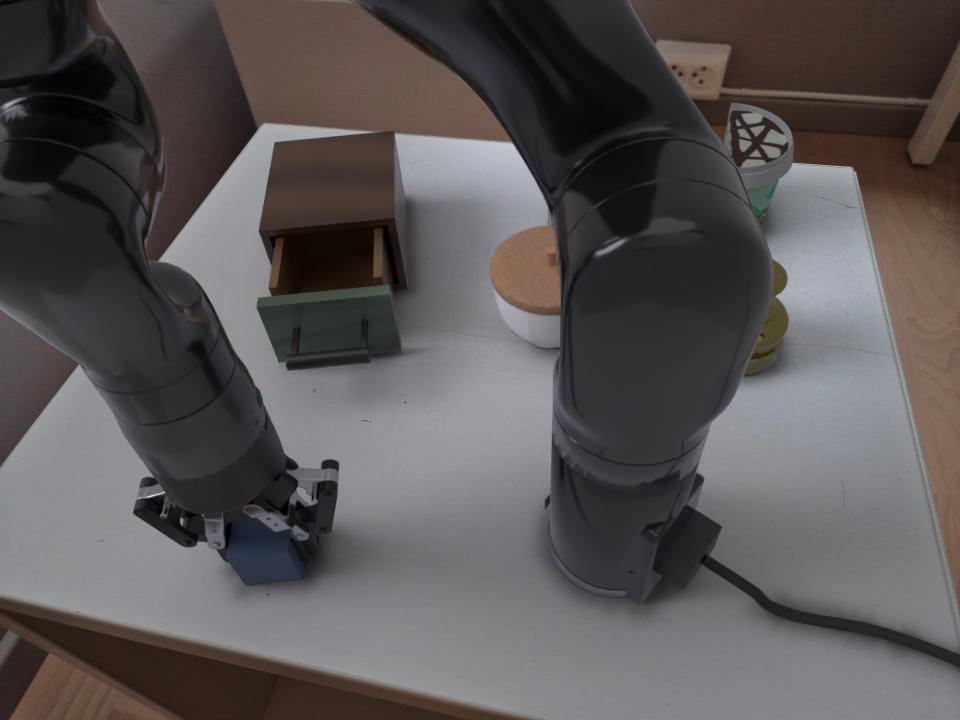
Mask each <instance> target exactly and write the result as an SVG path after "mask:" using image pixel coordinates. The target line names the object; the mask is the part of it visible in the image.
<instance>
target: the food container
mask: <svg viewBox="0 0 960 720" xmlns="http://www.w3.org/2000/svg"><path fill="white" fill-rule="evenodd" d="M722 143H723V144H724V146H725V147H726V149H727V150H728V152H729V153H730V155H731V156H732V158H733V160H734V162H735V163H736V165H737V168H738V170H739V172H740V175H741V177H742V180H743V183H744V185H745V188H746V190H747V193H748V195H749V198H750V201H751V203H752V206H753V208H754V211H755V213H756V216H757V218H758V221H759V224H760V226H761V227H762V225H763V222H764V220H765V217H766V214H767V212H768V210H769V207H770V204H771V202H772V200H773V196H774V194H775V191H776V189H777V186H778V184H779V182H780V180H781V178H783V177H784V176H786V175H787V174H788V173H789V171H790V170H791V168H792V166H793V163H794V153H795V151H794V149H795V148H794V146H795V143H794V139H793V134H792V131H791V129H790V127H789V126H788V124H787V123H786V122H785V121H783V120H782V119H781V118H780V117H779V116H777V115H776V114H774V113H772V112H770V111H768V110H766V109H764V108H760V107H758V106H754V105H750V104H745V103H740V102H739V103H737V102H731V104H730V107H729V112H728V115H727V123H726V129H725V134H724V139H723V142H722Z"/></svg>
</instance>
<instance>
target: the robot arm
mask: <svg viewBox="0 0 960 720" xmlns="http://www.w3.org/2000/svg"><path fill="white" fill-rule="evenodd" d="M349 1H350V3H352V4H353V5H355V7H357V8H358V9H360V10H361V11H362V12H363V13H364V14H366V15H367V16H368V17H369V18H371V19H372V20H373V21H375V22H376V23H378V24H379V25H381V26H382V27H383V28H385V30H388V31H389V32H391V33H392V34H393V35H394V36H397V37H398V38H399V39H401V40H402V41H403V42H405V43H407V44H408V45H409V46H412V47H413V48H414V49H416V50H418V51H419V52H420V53H422V54H423V55H425V56H426V57H428V58H430V59H431V60H433V61H434V62H436V63H438V64H439V65H440V66H441V67H443V68H444V69H446V70H447V71H449V72H450V73H451V74H453V75H454V76H456V77H457V78H458V79H459V80H460V81H461V82H463V84H465V86H467V88H469V90H471V91H472V92H473V94H475V95H476V96H477V98H478V99H479V100H480V101H481V102H482V104H483V105H485V106H486V108H487V109H488V111H489V112H490V113H491V114H492V115H493V117H494V118H495V120H496V121H497V122H498V124H499V126H500V127H501V129H502V130H503V131H504V133H505V134H506V136H507V137H508V139H509V140H510V141H511V143H512V145H513V147H514V149H516V151H517V153H518V154H519V156H520V157H521V159H522V161H523V162H524V164H525V166H526V168H527V170H528V171H529V173H530V174H531V176H532V178H533V179H534V181H535V183H536V185H537V187H538V189H539V191H540V193H541V196H542V197H543V199H544V201H545V204H546V206H547V210H548V209H549V213H550V217H551V221H552V225H553V231H554V242H555V251H556V260H557V269H558V276H559V286H560V346H559V348H558V349H559V350H558V354H557V356H556V358H555V361H554V366H553V372H552V415H551V416H552V420H551V449H550V450H551V452H550V453H551V456H550V491H549V494H548V495H547V497H546V498H545V499H544V510H546V509H547V508H548V506H549V520H548V526H547V528H548V529H547V531H548V532H547V541H548V546H549V547H548V548H549V551H550V554H551V556H552V559H553V561H554V562H555V564H556V566H557V567H558V569H559V570H560V571H561V573H562V574H563V575H564V576H565V577H566V578H567V579H568V580H569V581H571V583H573V584H574V585H576V586H577V587H579V588H581V589H582V590H584V591H587V592H589V593H590V594H594V595H597V596H601V597H606V598H607V597H608V598H628V599H629V600H632V601H633V602H634V603H636V604H637V605H641V604H643V603H644V602H645V600H647V598H648V597H649V595H650V594H651V592H652V591H653V590H654V588H655V587H656V585H657V584H658V582H660V581H661V580H662V578H664V579H665V580H667V581H669V583H671V584H673V585H674V586H676V587H677V588H678V589H680V590H682V591H685V590H686V589H687V587H688V586H689V585H690V584H691V581H693V579H694V578H695V576H696V575H697V573H698V571H699V570H700V569H701V568H702V567H704V568H706V569H707V570H709V571H710V572H712V573H714V574H715V575H717V576H718V577H720V578H722V579H723V580H725V581H726V582H727V583H729V584H731V585H732V586H734V587H735V588H737V589H738V590H739V591H741V592H743V593H744V594H746V595H747V596H749V597H750V598H752V599H753V600H754V601H755V602H756V603H757V604H758V606H759V607H760V608H762V609H763V610H765V611H766V612H768V613H770V614H773V615H775V616H776V617H777V616H778V617H780V618H783V619H787V620H790V621H794V622H797V623H801V624H804V625H810V626H816V627H822V628H827V629H834V630H841V631H847V632H851V633H856V634H857V633H858V634H862V635H867V636H870V637H875V638H878V639H882V640H884V641H889V642H891V643H895V644H897V645H900V646H904V647H907V648H909V649H912V650H915V651H918V652H921V653H922V654H926V655H929V656H930V657H934V658H936V659H939V660H941V661H944V662H945V663H948V664H950V665H953V666H955V667H956V668H960V653H957V652H955V651H952V650H949V649H947V648H945V647H943V646H939V645H937V644H934V643H932V642H929V641H926V640H924V639H921V638H918V637H916V636H913V635H909V634H906V633H903V632H902V631H901V632H900V631H897V630H894V629H891V628H887V627H884V626H880V625H877V624H873V623H868V622H864V621H859V620H853V619H848V618H842V617H836V616H829V615H823V614H817V613H811V612H807V611H802V610H798V609H794V608H791V607H788V606H785V605H782V604H780V603H777V602H775V601H774V600H772V599H771V598H769V597H768V596H767V594H766V593H764V592H763V590H761V589H760V588H759V587H758V586H756V585H755V584H753V583H752V582H751V581H749V580H747V579H746V578H744V577H743V576H742V575H740V574H738V573H737V572H735V571H734V570H732V569H730V568H729V567H727V566H726V565H725V564H723V563H722V562H719V561H718V560H716V559H715V558H714V557H712V556H710V554H711V553H712V552H713V550H714V549H715V548H716V544H717V542H718V539H719V537H720V534H721V531H722V529H723V526H722V525H721V524H719V523H718V522H716V521H715V520H713V519H712V518H710V517H708V516H706V515H705V514H704V513H702V512H700V511H698V510H697V506H698V503H699V500H700V497H701V493H702V490H703V487H704V484H705V480H706V479H705V477H704V476H703V475H702V474H701V473H699V472H698V469H699V466H700V462H701V459H702V455H703V452H704V450H705V446H706V443H707V439H708V435H709V432H710V429H711V425H712V423H713V422H714V421H715V420H716V419H718V417H719V416H720V415H721V414H722V413H724V411H725V410H727V408H728V407H729V406H730V405H731V403H732V401H734V398H735V396H736V394H737V391H739V390H738V389H739V387H740V386H741V383H742V380H743V377H744V376H745V375H744V373H745V370H746V368H747V365H748V363H749V360H750V358H751V355H752V353H753V350H754V348H755V345H756V343H757V340H758V338H759V335H760V333H761V330H762V327H763V325H764V322H765V319H766V315H767V312H768V309H769V305H770V301H771V296H772V290H773V278H774V269H773V261H772V259H773V256H772V253H771V249H770V246H769V244H768V242H767V239H766V236H765V234H764V231H763V228H762V225H761V226H760V224H759V221H758V218H757V216H756V213H755V211H754V208H753V206H752V203H751V201H750V198H749V195H748V193H747V190H746V188H745V185H744V183H743V180H742V177H741V175H740V172H739V170H738V168H737V165H736V163H735V162H734V160H733V158H732V156H731V155H730V153H729V152H728V150H727V149H726V147H725V146H724V144H723V143H724V142H723V141H722V140H721V138H720V137H719V136H718V134H717V133H716V132H715V129H714V128H713V127H712V126H711V124H710V123H709V121H708V120H707V119H706V117H705V116H704V115H703V113H702V112H701V111H700V109H699V108H698V106H697V105H696V104H695V102H694V100H693V99H692V97H690V95H689V93H688V92H687V90H686V89H685V88H684V87H683V85H682V84H681V82H680V81H679V79H678V78H677V77H676V75H675V73H674V72H673V70H672V69H671V67H670V65H669V64H668V63H667V61H666V60H665V57H663V55H662V53H661V52H660V50H659V49H658V47H657V46H656V44H655V43H654V41H653V39H652V38H651V36H650V35H649V33H648V32H647V30H646V28H645V26H644V24H643V23H642V21H641V20H640V18H639V17H638V15H637V13H636V10H635V9H634V7H633V5H632V3H631V1H630V0H349ZM166 153H167V152H166V145H165V141H164V136H163V132H162V127H161V124H160V120H159V117H158V114H157V112H156V109H155V107H154V104H153V100H152V99H151V97H150V95H149V92H148V90H147V88H146V86H145V84H144V83H143V79H142V78H141V76H140V74H139V72H138V70H137V68H136V66H135V64H134V63H133V61H132V58H131V56H130V55H129V52H128V51H127V49H126V46H125V45H124V43H123V41H122V39H121V37H120V35H119V34H118V32H117V30H116V28H115V26H114V25H113V23H112V22H111V20H110V18H109V17H108V15H107V14H106V13H105V11H104V9H103V7H102V5H101V4H100V2H99V0H0V311H2V312H3V313H5V314H6V315H8V316H9V317H11V318H12V319H13V320H15V321H16V322H18V323H19V324H21V325H22V326H24V327H25V328H26V329H28V330H29V331H31V332H32V333H34V334H35V335H36V336H37V337H39V338H41V340H43V341H44V342H45V343H47V344H48V345H50V346H51V347H53V348H54V349H56V350H57V351H59V352H61V353H62V354H64V355H65V356H67V357H68V358H69V359H71V360H72V361H74V362H75V363H77V364H78V365H79V366H80V368H81V369H82V372H83V373H84V374H85V376H86V377H87V378H88V380H89V381H90V383H91V384H92V385H93V387H94V388H95V390H96V391H97V392H98V394H99V395H100V396H101V398H102V399H103V400H104V402H105V404H106V405H107V406H108V408H109V409H110V411H111V412H112V414H113V416H114V418H115V421H116V423H117V426H118V427H119V429H120V431H121V433H122V434H123V436H124V439H126V441H127V442H128V443H129V445H130V446H131V448H132V449H133V450H134V452H135V453H136V455H137V456H138V457H139V459H140V460H141V462H142V463H143V464H144V466H145V467H146V469H147V470H148V471H149V472H150V474H151V476H145V477H142V478H141V479H140V483H139V486H138V491H137V495H136V499H135V503H134V507H133V510H132V514H133V515H134V516H135V517H137V518H138V519H140V520H141V521H143V522H144V523H146V524H148V525H149V526H150V527H152V528H154V529H155V530H157V531H158V532H159V533H160V534H163V535H164V536H165V537H167V538H169V539H170V540H172V541H173V542H175V543H176V544H178V545H179V546H181V547H183V548H188V549H190V548H195V547H196V546H197V545H198V543H207V547H208V548H209V549H212V550H215V551H216V552H217V553H218V554H219V556H220V557H221V559H222V560H223V561H224V562H226V563H227V564H230V563H229V562H228V560H227V559H226V558H227V551H228V545H229V538H230V532H231V525H232V522H238V521H242V520H246V519H257V520H260V521H261V522H262V523H264V524H265V525H266V526H268V527H269V528H270V529H271V530H273V531H274V532H276V533H277V532H280V531H283V532H284V533H286V534H287V535H288V536H290V537H291V538H292V540H291V542H292V544H293V545H294V547H295V549H296V551H297V553H298V555H299V557H300V559H301V560H302V562H304V563H309V562H313V559H314V556H316V555H318V554H319V551H320V535H328V534H330V533H332V531H333V525H334V520H335V514H336V507H337V502H338V495H339V494H338V493H339V477H340V462H339V461H338V460H336V459H332V458H328V459H324V460H322V461H321V463H320V468H309V467H308V468H307V467H300V466H299V464H298V462H297V461H296V460H295V459H292V457H289V456H288V455H287V454H286V453H285V450H284V447H283V444H282V441H281V438H280V436H279V434H278V432H277V430H276V427H275V425H274V423H273V421H272V419H271V417H270V414H269V412H268V410H267V408H266V406H265V404H264V398H263V395H262V392H261V390H260V389H259V388H258V386H257V385H256V384H255V381H254V379H253V377H252V375H251V373H250V371H249V369H248V368H247V366H246V365H245V363H244V361H243V360H242V359H241V358H240V356H239V355H238V354H237V352H236V351H235V349H234V347H233V345H232V343H231V340H230V338H229V336H228V334H227V332H226V330H225V328H224V325H223V323H222V321H221V319H220V316H219V315H218V312H217V311H216V308H215V306H214V305H213V303H212V301H211V299H210V298H209V296H208V294H207V293H206V291H205V289H204V288H203V286H202V285H201V284H200V283H199V282H198V280H197V279H196V278H195V277H194V275H192V274H191V273H189V272H188V271H186V270H185V269H183V268H182V267H180V266H177V265H175V264H172V263H169V262H165V261H158V260H149V258H148V254H147V249H146V248H147V245H148V241H149V237H150V234H151V232H152V228H153V225H154V222H155V219H156V216H157V213H158V210H159V207H160V203H161V200H162V197H163V194H164V190H165V189H166V183H167V182H166V181H167V175H168V173H167V172H168V171H167V170H168V168H167V167H168V165H167V163H168V162H167V154H166ZM298 488H302V489H303V490H305V491H306V494H307V495H308V496H310V498H311V499H310V502H311V504H310V503H308V502H307V500H305V499H303V498H302V497H301V496H300V495H299V493H298ZM181 519H182V520H183V521H182V523H181Z"/></svg>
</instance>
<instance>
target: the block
mask: <svg viewBox="0 0 960 720" xmlns="http://www.w3.org/2000/svg"><path fill="white" fill-rule="evenodd" d="M291 540H292V538H291V537H290V536H288V535H287V534H286V533H284V532H283V531H280V532H277V533H276V532H274V531H273V530H271V529H270V528H269V527H268V526H266V525H265V524H264V523H262V522H261V521H260V520H257V519H246V520H242V521H238V522H232V525H231V532H230V538H229V545H228V551H227V558H226V559H227V560H228V562H229V563H228V564H230V566H231V568H232V569H233V570H234V572H235V573H236V575H237V576H238V577H239V579H240V580H241V582H242V583H243V585H245V586H249V585H257V584H258V585H259V584H268V583H277V582H288V581H297V580H299V581H300V580H304V572H305V571H304V570H305V562H302V560H301V559H300V557H299V555H298V553H297V551H296V549H295V547H294V545H293V544H292V542H291Z"/></svg>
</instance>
